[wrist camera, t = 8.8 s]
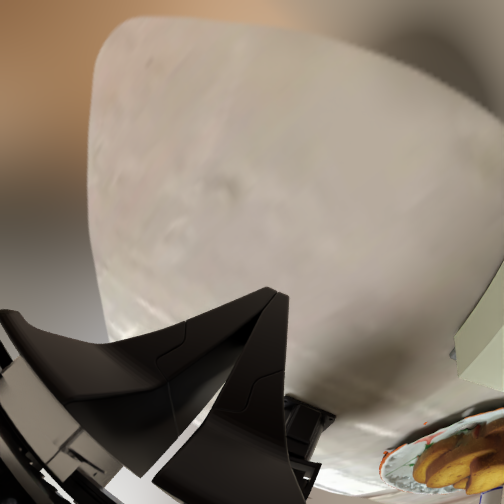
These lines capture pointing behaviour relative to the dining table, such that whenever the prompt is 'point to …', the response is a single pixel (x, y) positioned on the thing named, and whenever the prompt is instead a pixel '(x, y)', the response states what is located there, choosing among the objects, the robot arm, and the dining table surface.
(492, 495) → the beverage can
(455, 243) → the dining table surface
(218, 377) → the robot arm
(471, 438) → the food on plate
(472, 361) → the sage block
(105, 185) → the dining table surface
